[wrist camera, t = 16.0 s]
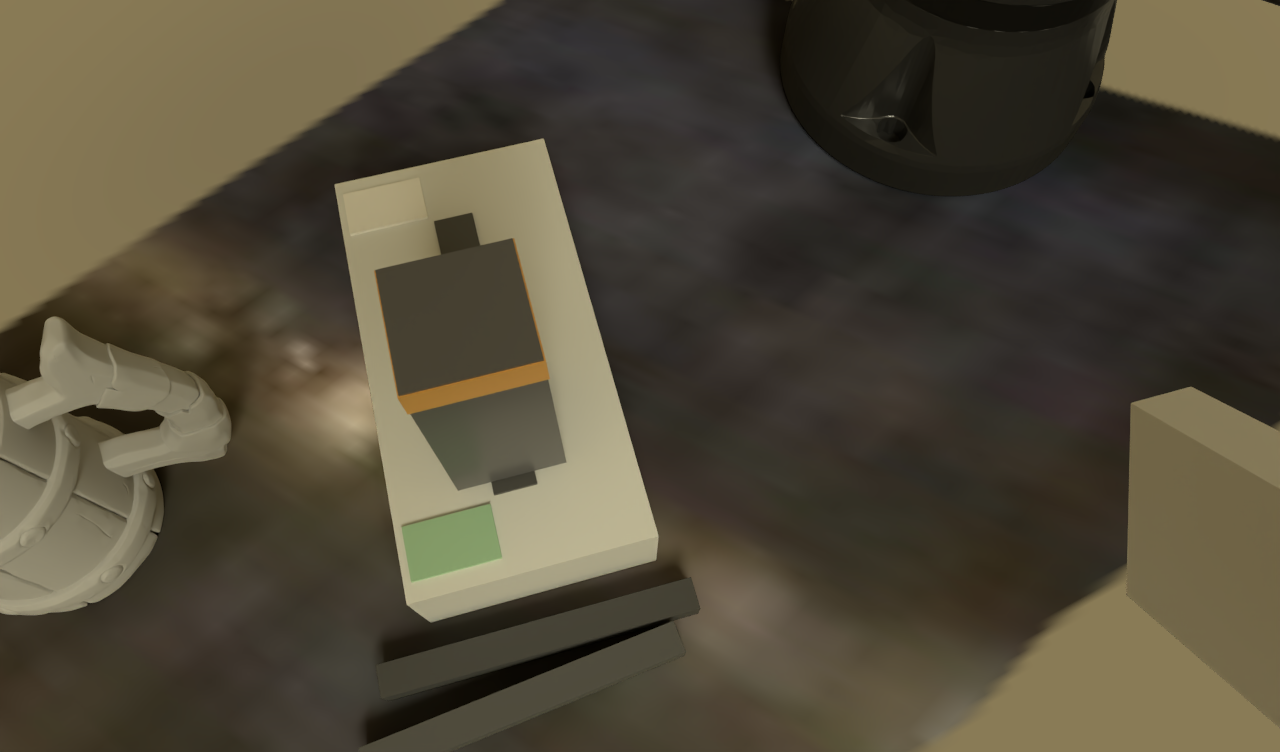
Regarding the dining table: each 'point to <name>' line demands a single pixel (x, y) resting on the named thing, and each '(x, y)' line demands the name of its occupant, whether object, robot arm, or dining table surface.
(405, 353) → the lever
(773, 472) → the dining table surface
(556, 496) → the switch box
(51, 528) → the mug
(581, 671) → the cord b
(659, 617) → the dark grey rail bar
